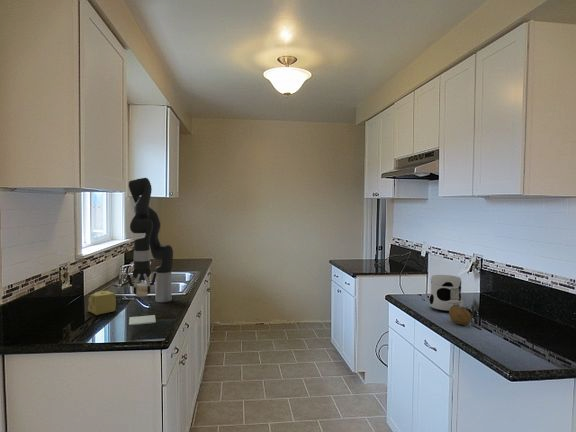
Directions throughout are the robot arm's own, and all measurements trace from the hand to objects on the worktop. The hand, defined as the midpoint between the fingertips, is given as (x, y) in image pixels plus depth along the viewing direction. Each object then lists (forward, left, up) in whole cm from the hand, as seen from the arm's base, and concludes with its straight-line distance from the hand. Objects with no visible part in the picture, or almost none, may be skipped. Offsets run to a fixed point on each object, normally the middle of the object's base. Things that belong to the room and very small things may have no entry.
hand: (142, 293), depth 193 cm
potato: (+58, +144, -13) cm, 156 cm away
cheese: (-25, -20, -14) cm, 35 cm away
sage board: (0, 0, -13) cm, 13 cm away
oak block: (0, 0, -1) cm, 1 cm away
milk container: (+35, +156, -14) cm, 161 cm away
